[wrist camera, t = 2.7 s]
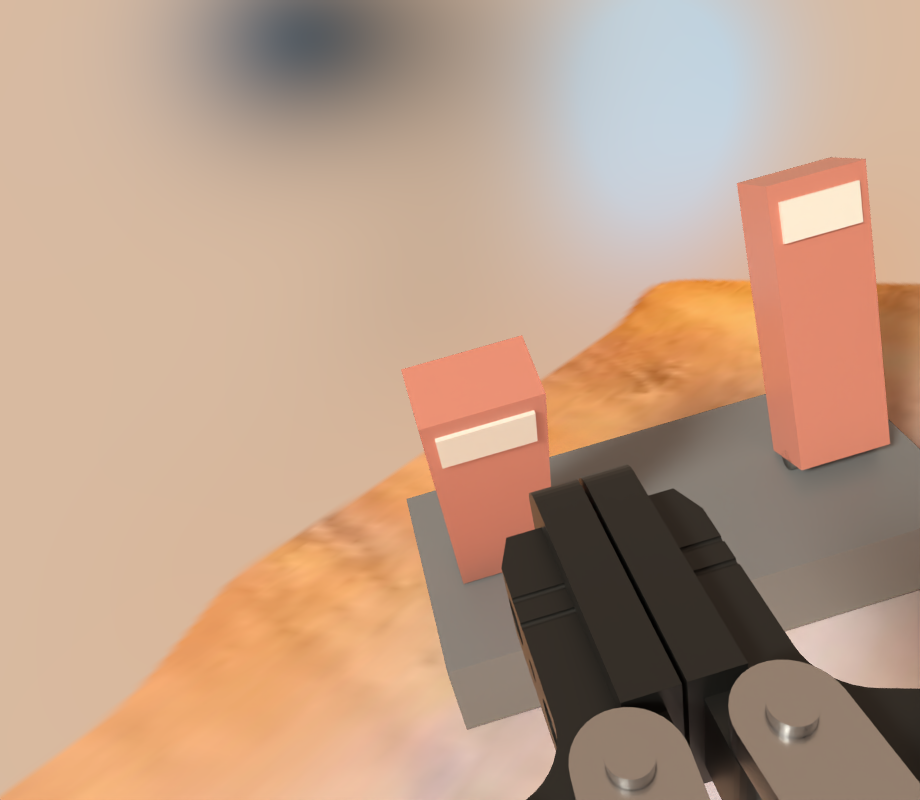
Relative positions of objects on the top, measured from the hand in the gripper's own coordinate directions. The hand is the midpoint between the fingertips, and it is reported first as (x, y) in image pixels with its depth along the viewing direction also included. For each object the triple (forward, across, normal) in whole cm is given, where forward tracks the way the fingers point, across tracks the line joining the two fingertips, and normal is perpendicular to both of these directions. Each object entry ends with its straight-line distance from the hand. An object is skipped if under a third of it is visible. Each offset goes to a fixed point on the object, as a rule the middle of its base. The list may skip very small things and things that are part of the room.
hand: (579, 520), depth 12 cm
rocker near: (+16, 0, +17) cm, 24 cm away
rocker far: (+16, -15, +17) cm, 28 cm away
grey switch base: (+16, -8, +22) cm, 28 cm away
